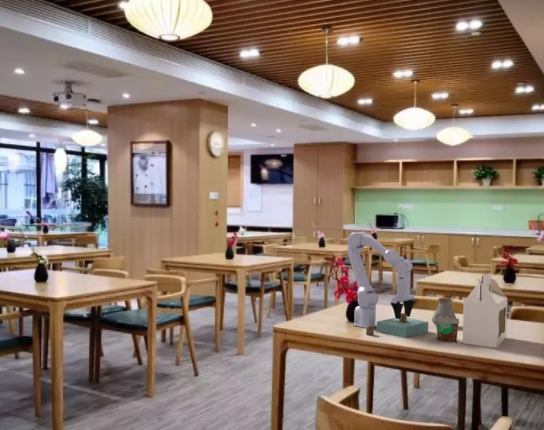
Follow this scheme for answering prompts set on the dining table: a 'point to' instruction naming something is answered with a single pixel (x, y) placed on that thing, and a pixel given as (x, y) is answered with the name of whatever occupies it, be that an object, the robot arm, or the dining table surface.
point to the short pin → (370, 330)
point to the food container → (446, 328)
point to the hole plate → (402, 327)
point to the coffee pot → (444, 308)
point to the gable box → (485, 314)
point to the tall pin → (403, 318)
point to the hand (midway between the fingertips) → (402, 317)
